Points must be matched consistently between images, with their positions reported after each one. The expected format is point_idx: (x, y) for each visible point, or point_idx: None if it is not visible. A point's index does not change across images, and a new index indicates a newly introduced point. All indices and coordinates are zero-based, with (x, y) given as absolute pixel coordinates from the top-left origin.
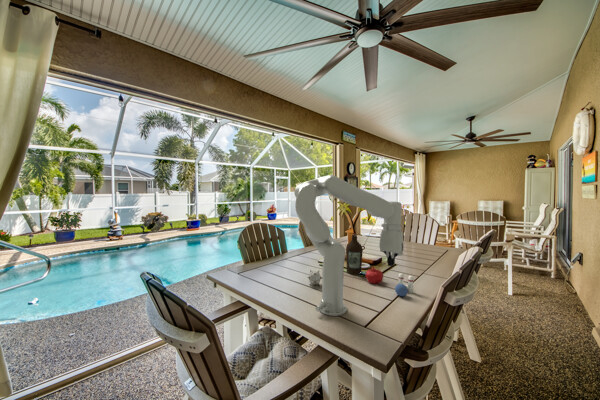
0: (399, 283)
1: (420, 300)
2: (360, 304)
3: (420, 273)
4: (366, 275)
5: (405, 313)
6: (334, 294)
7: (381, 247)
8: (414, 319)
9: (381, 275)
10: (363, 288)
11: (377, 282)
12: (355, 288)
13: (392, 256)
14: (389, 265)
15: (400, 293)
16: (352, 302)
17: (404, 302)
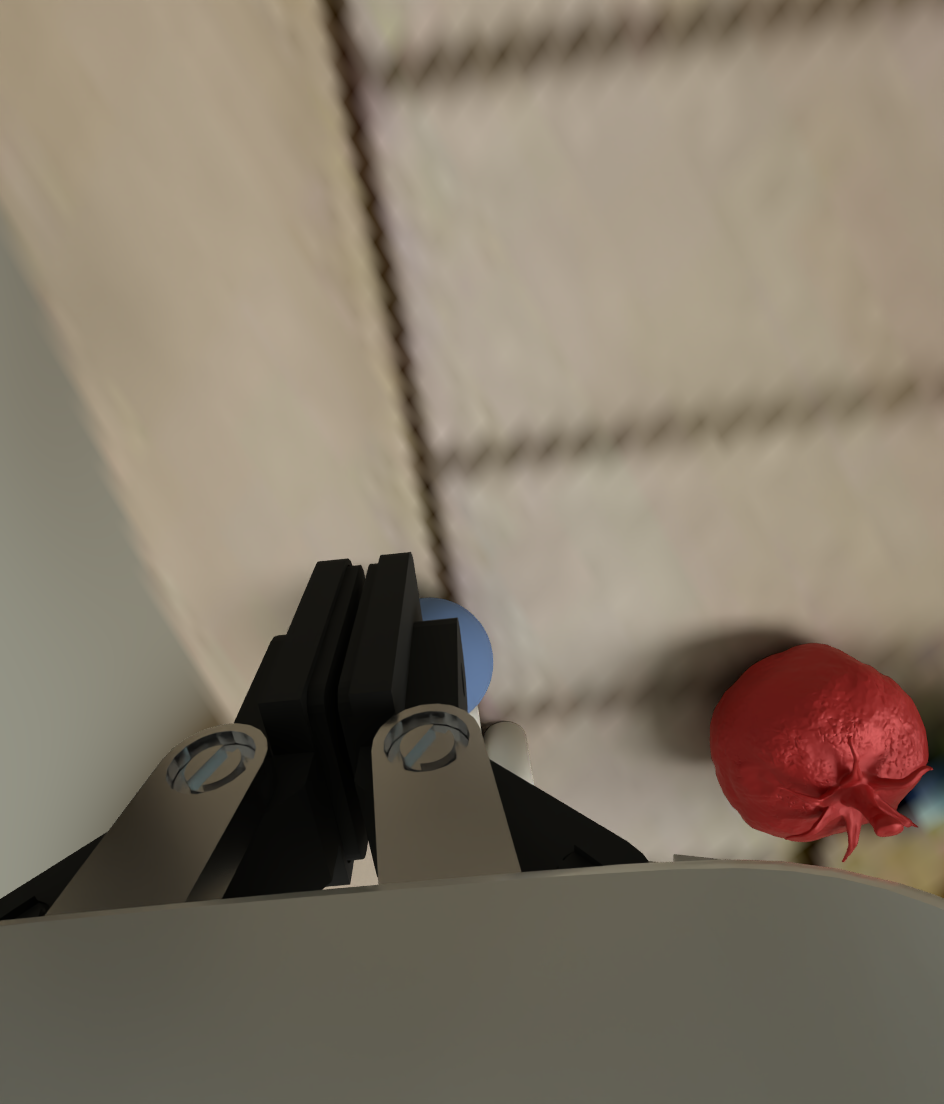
0: (517, 767)
1: None
2: (625, 58)
3: None
4: (890, 683)
5: (179, 315)
6: None
7: (921, 1065)
8: (49, 268)
9: (736, 774)
10: (800, 484)
11: (733, 685)
12: (877, 411)
13: (205, 789)
14: (372, 574)
15: None
16: (731, 12)
17: (331, 528)
